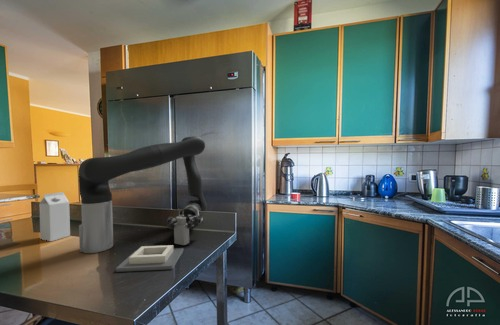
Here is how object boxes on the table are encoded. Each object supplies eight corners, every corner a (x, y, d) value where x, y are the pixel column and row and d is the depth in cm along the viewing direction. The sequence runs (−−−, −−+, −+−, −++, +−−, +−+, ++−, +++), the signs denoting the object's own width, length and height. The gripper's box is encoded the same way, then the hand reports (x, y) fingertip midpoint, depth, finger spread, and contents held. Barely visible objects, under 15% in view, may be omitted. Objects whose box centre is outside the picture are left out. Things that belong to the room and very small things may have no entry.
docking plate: (115, 271, 63) (115, 261, 63) (136, 252, 76) (136, 244, 76) (172, 269, 64) (172, 258, 64) (183, 250, 77) (183, 242, 77)
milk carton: (40, 239, 92) (38, 194, 91) (60, 234, 98) (59, 191, 98) (50, 241, 89) (48, 194, 89) (70, 236, 95) (69, 192, 95)
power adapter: (179, 240, 86) (178, 209, 86) (190, 242, 84) (189, 211, 84) (173, 243, 83) (172, 211, 83) (184, 245, 81) (183, 212, 81)
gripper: (172, 206, 97) (159, 216, 80) (205, 205, 98) (199, 215, 81) (173, 223, 97) (159, 237, 81) (206, 222, 98) (199, 235, 81)
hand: (179, 226), depth 81 cm, fingers closed on power adapter, 5 cm apart
